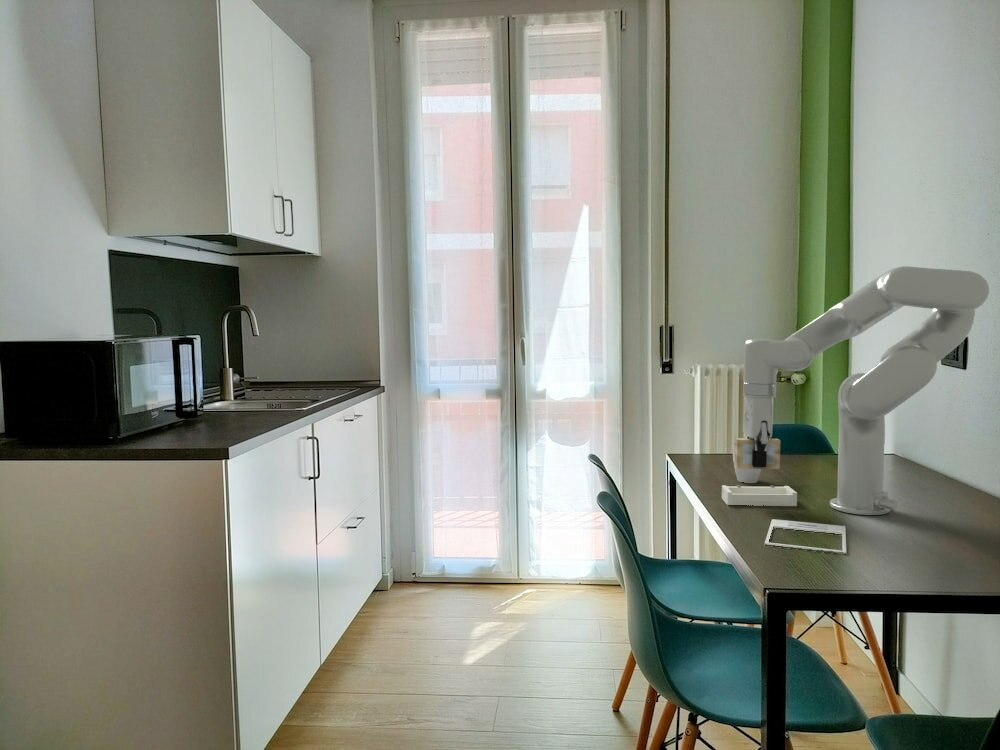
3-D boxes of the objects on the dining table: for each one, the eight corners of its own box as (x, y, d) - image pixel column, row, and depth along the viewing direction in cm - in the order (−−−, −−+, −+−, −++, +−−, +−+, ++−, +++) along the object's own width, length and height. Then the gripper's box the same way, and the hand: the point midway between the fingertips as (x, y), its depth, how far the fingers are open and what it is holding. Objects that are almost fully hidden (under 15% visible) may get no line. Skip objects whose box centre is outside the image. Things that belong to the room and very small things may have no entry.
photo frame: (845, 525, 151) (846, 551, 135) (845, 530, 151) (846, 556, 135) (772, 518, 157) (764, 542, 141) (772, 523, 157) (764, 547, 141)
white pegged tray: (788, 498, 176) (788, 485, 175) (796, 506, 169) (797, 492, 168) (721, 498, 177) (721, 484, 177) (727, 505, 170) (727, 491, 170)
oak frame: (776, 466, 173) (777, 438, 173) (779, 469, 171) (780, 440, 170) (734, 466, 174) (735, 438, 174) (737, 468, 172) (737, 440, 171)
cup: (758, 477, 198) (759, 442, 197) (766, 484, 190) (767, 447, 189) (729, 477, 199) (729, 442, 198) (735, 484, 191) (736, 447, 190)
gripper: (735, 386, 179) (734, 458, 181) (751, 394, 163) (749, 472, 165) (766, 386, 178) (764, 459, 180) (785, 394, 162) (783, 473, 164)
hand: (757, 464), depth 172 cm, fingers closed on oak frame, 2 cm apart
